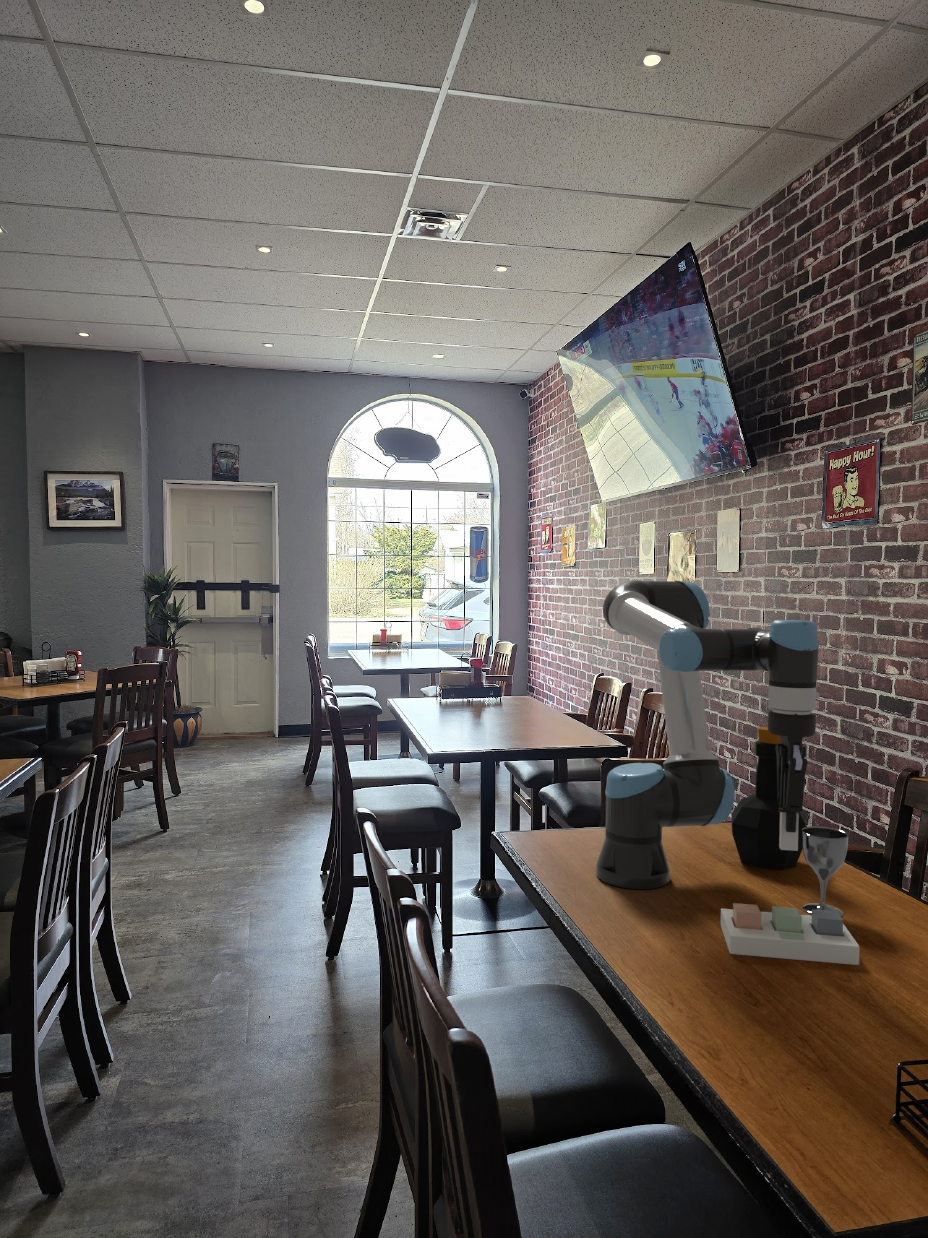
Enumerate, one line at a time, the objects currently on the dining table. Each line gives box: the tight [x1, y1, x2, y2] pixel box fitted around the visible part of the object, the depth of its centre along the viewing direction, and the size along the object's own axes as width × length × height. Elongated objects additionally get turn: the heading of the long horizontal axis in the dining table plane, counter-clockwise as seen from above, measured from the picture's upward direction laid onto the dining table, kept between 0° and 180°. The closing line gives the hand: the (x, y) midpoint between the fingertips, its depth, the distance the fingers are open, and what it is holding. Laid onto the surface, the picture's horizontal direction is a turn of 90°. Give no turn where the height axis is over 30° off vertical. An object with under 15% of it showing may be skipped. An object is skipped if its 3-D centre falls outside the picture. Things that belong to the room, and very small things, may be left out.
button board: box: [720, 908, 860, 966], centre depth 139 cm, size 20×12×3 cm, turn 80°
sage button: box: [771, 905, 802, 933], centre depth 139 cm, size 4×4×3 cm
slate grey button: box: [811, 909, 844, 936], centre depth 138 cm, size 4×4×3 cm
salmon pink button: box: [732, 902, 762, 930], centre depth 140 cm, size 4×4×3 cm
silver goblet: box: [802, 825, 849, 918], centre depth 154 cm, size 8×8×15 cm
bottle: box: [730, 726, 808, 871], centre depth 182 cm, size 16×16×30 cm
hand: (788, 848), depth 138 cm, fingers closed
